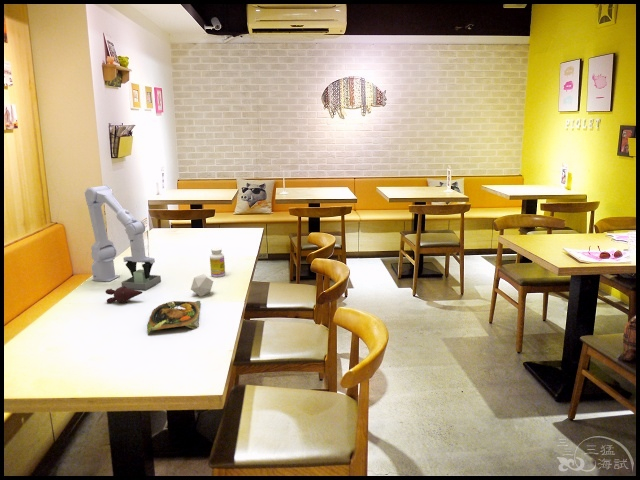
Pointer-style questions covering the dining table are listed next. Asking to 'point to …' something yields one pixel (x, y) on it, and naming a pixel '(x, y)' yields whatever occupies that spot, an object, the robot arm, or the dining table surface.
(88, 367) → the dining table surface
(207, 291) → the die
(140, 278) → the mint block
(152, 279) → the gray tray
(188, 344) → the dining table surface
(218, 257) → the supplement bottle
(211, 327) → the dining table surface
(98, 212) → the robot arm
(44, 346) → the dining table surface
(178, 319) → the prepared meal
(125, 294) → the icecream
